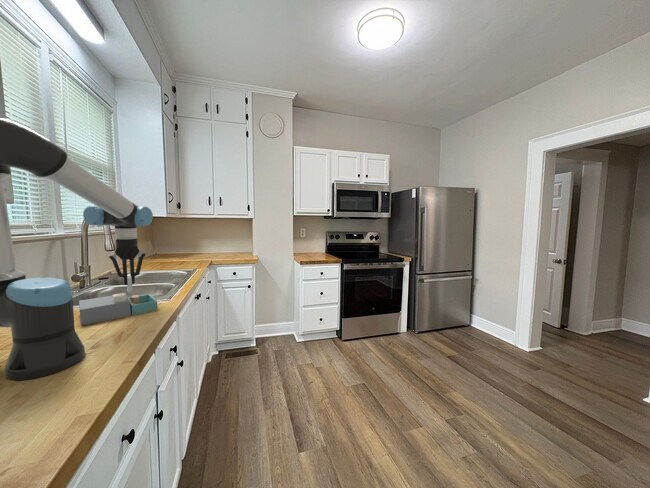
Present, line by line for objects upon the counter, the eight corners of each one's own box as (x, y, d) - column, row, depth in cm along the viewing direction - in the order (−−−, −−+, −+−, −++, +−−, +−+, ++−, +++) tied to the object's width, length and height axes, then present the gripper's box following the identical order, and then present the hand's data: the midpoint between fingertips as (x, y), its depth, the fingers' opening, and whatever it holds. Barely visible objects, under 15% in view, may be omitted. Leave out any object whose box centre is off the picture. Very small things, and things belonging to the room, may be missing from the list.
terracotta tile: (132, 298, 116) (139, 296, 118) (131, 296, 119) (138, 294, 120) (133, 306, 116) (140, 305, 118) (131, 304, 119) (138, 303, 121)
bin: (132, 315, 109) (131, 305, 109) (126, 306, 119) (126, 297, 119) (157, 309, 115) (157, 301, 115) (150, 302, 125) (149, 293, 125)
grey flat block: (81, 325, 98) (80, 309, 98) (80, 314, 108) (78, 300, 108) (130, 315, 109) (129, 301, 108) (125, 306, 119) (124, 293, 118)
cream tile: (113, 302, 106) (113, 296, 105) (112, 300, 109) (112, 294, 108) (126, 300, 108) (125, 294, 108) (124, 298, 111) (124, 292, 111)
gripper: (142, 237, 121) (145, 287, 124) (106, 238, 112) (110, 292, 115) (146, 238, 116) (149, 290, 118) (108, 239, 107) (112, 296, 109)
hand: (129, 291), depth 116 cm, fingers closed
